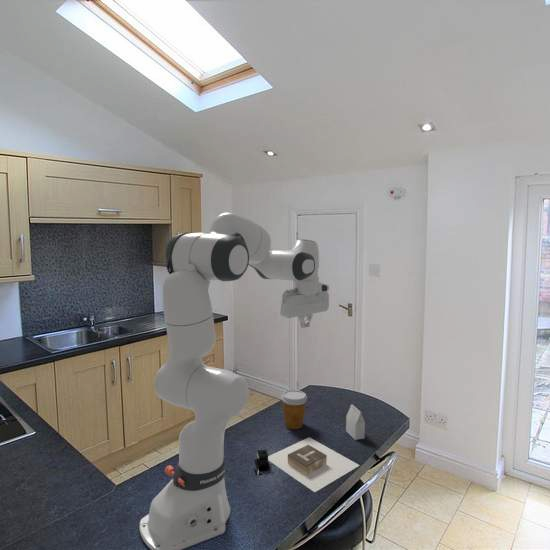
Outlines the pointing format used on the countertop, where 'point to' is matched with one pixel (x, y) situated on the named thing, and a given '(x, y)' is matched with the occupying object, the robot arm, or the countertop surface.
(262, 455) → the black mounting plate
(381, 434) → the countertop surface
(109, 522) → the countertop surface
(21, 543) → the countertop surface
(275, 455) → the felt mat
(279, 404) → the countertop surface
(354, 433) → the grey angular block
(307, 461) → the letter block
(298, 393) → the disposable coffee cup
